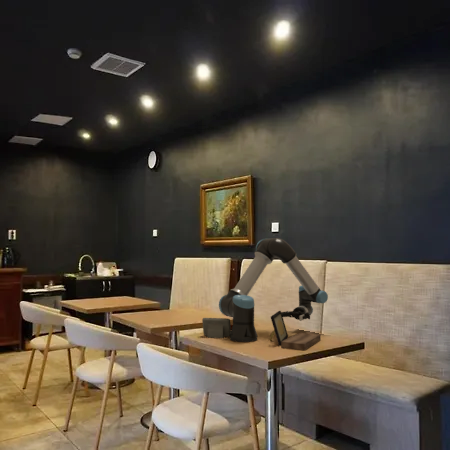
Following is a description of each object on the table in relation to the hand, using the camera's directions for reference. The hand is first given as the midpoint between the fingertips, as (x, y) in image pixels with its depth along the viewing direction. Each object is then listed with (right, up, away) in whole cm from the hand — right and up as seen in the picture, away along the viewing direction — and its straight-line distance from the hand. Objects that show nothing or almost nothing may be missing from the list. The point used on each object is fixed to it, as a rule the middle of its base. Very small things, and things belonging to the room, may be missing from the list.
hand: (288, 317), depth 247 cm
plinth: (+4, -9, -21) cm, 23 cm away
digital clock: (-41, -11, -1) cm, 42 cm away
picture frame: (-8, -10, -13) cm, 19 cm away
